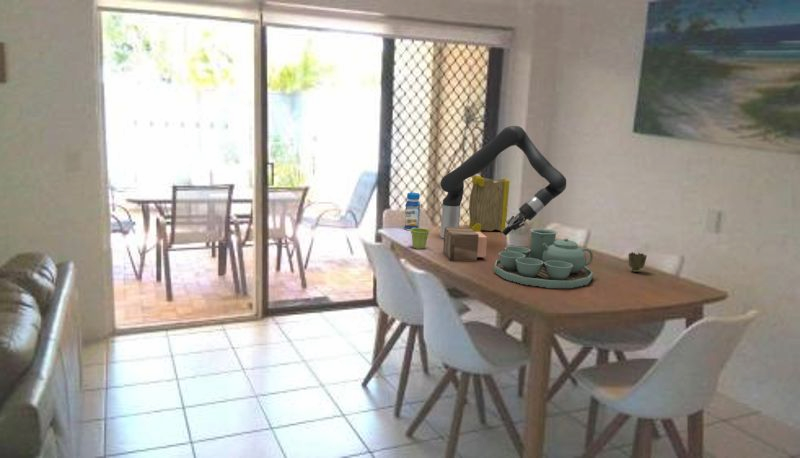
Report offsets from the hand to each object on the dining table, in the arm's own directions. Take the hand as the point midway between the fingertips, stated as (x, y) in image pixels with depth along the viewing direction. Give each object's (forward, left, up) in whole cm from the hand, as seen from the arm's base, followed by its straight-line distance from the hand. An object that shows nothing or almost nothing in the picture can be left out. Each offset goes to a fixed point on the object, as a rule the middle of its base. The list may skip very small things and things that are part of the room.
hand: (503, 233), depth 283 cm
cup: (+24, +53, -11) cm, 59 cm away
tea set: (+31, +8, -11) cm, 34 cm away
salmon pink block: (0, -14, -10) cm, 17 cm away
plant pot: (-17, -36, -11) cm, 41 cm away
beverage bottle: (-61, -33, -11) cm, 70 cm away
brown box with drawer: (0, -20, -11) cm, 23 cm away
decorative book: (-62, +10, -11) cm, 64 cm away
